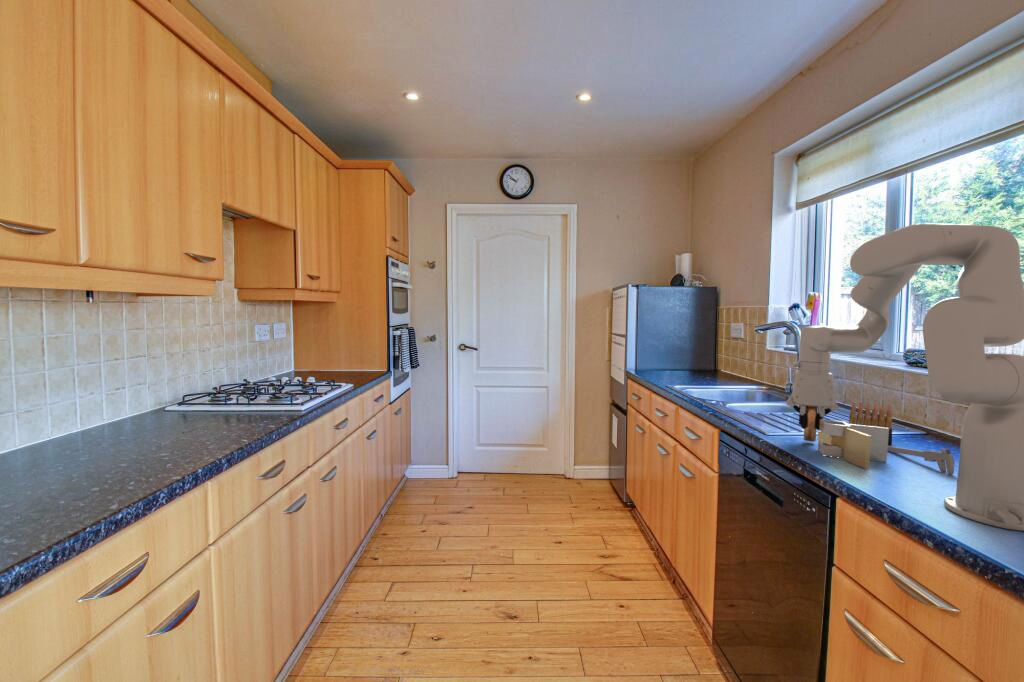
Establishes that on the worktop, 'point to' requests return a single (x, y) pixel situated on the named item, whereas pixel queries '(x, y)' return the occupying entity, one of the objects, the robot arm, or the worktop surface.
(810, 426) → the pin
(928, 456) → the caliper
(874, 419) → the ammunition clip
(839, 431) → the hinge fixed
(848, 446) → the hinge leaf
